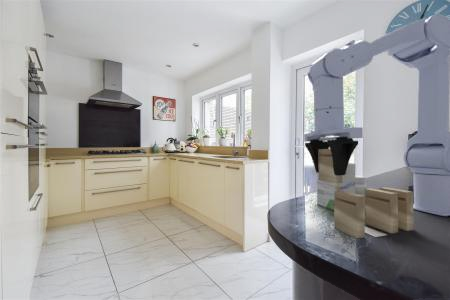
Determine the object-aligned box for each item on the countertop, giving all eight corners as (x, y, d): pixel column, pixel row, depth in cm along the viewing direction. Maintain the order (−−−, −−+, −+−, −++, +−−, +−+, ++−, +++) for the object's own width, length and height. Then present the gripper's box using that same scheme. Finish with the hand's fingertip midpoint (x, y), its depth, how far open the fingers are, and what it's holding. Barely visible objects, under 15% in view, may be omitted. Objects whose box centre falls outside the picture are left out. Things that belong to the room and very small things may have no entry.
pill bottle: (371, 208, 52) (370, 177, 52) (351, 207, 53) (351, 177, 53) (363, 203, 56) (362, 175, 56) (345, 203, 57) (345, 175, 57)
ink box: (316, 204, 57) (315, 161, 57) (333, 202, 58) (332, 160, 58) (338, 213, 49) (337, 162, 49) (357, 211, 50) (356, 162, 50)
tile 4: (341, 227, 40) (341, 190, 40) (364, 237, 35) (364, 196, 35) (334, 227, 40) (334, 191, 40) (357, 238, 35) (357, 196, 35)
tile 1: (386, 221, 43) (385, 187, 43) (413, 229, 38) (413, 191, 38) (380, 221, 42) (379, 187, 43) (407, 230, 38) (406, 192, 38)
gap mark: (356, 223, 42) (356, 223, 42) (386, 235, 36) (386, 234, 36) (346, 225, 41) (346, 224, 41) (375, 237, 35) (375, 236, 35)
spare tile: (324, 179, 47) (324, 149, 47) (342, 182, 43) (341, 148, 43) (318, 180, 47) (318, 149, 47) (335, 183, 42) (334, 148, 42)
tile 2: (371, 223, 42) (371, 188, 42) (398, 232, 37) (397, 193, 37) (365, 223, 41) (364, 188, 42) (391, 233, 37) (390, 193, 37)
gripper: (292, 116, 51) (294, 171, 51) (339, 102, 37) (341, 178, 37) (317, 116, 53) (318, 170, 53) (371, 104, 39) (372, 176, 39)
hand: (329, 173), depth 45 cm, fingers closed on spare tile, 5 cm apart
